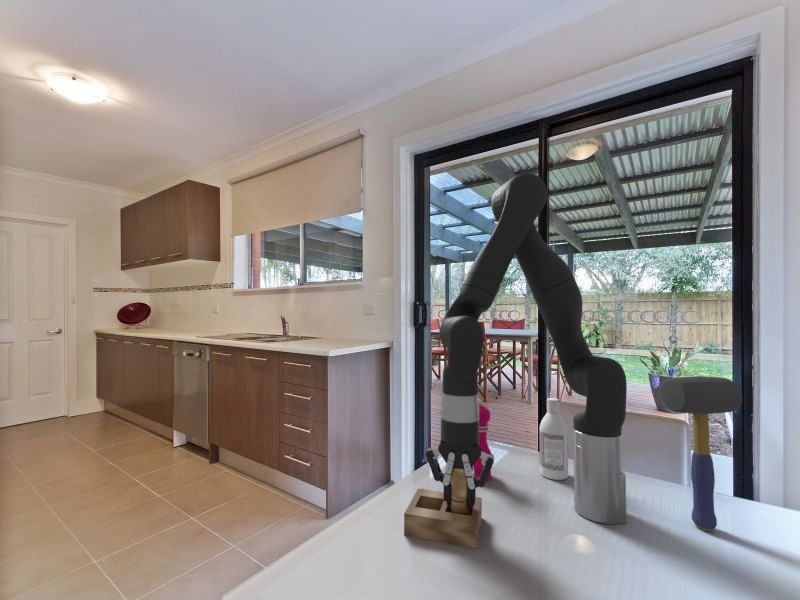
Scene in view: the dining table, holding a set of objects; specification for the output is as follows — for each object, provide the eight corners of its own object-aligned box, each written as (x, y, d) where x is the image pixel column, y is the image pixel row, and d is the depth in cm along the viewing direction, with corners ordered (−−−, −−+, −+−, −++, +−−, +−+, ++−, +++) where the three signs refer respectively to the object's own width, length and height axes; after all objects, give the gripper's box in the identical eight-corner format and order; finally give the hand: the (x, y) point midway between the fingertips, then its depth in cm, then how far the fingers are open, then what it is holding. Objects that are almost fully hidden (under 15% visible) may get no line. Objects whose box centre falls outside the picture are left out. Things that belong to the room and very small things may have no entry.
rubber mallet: (715, 517, 78) (710, 373, 80) (752, 538, 71) (746, 379, 72) (660, 519, 77) (656, 373, 79) (691, 540, 70) (686, 379, 71)
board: (481, 517, 77) (481, 497, 77) (476, 548, 67) (476, 525, 67) (418, 507, 81) (418, 488, 81) (404, 535, 70) (404, 513, 71)
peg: (469, 515, 74) (469, 464, 75) (467, 524, 71) (467, 471, 71) (451, 512, 75) (452, 462, 76) (449, 521, 72) (449, 468, 72)
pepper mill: (495, 482, 94) (495, 402, 95) (467, 482, 94) (467, 402, 95) (489, 471, 101) (489, 396, 102) (462, 470, 101) (462, 396, 102)
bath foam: (549, 468, 103) (548, 395, 105) (573, 476, 98) (572, 399, 99) (534, 474, 99) (533, 398, 100) (559, 483, 94) (558, 403, 95)
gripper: (497, 414, 76) (497, 501, 75) (429, 408, 80) (428, 491, 79) (495, 424, 68) (495, 520, 68) (421, 417, 73) (419, 508, 72)
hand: (459, 504), depth 73 cm, fingers closed on peg, 3 cm apart
